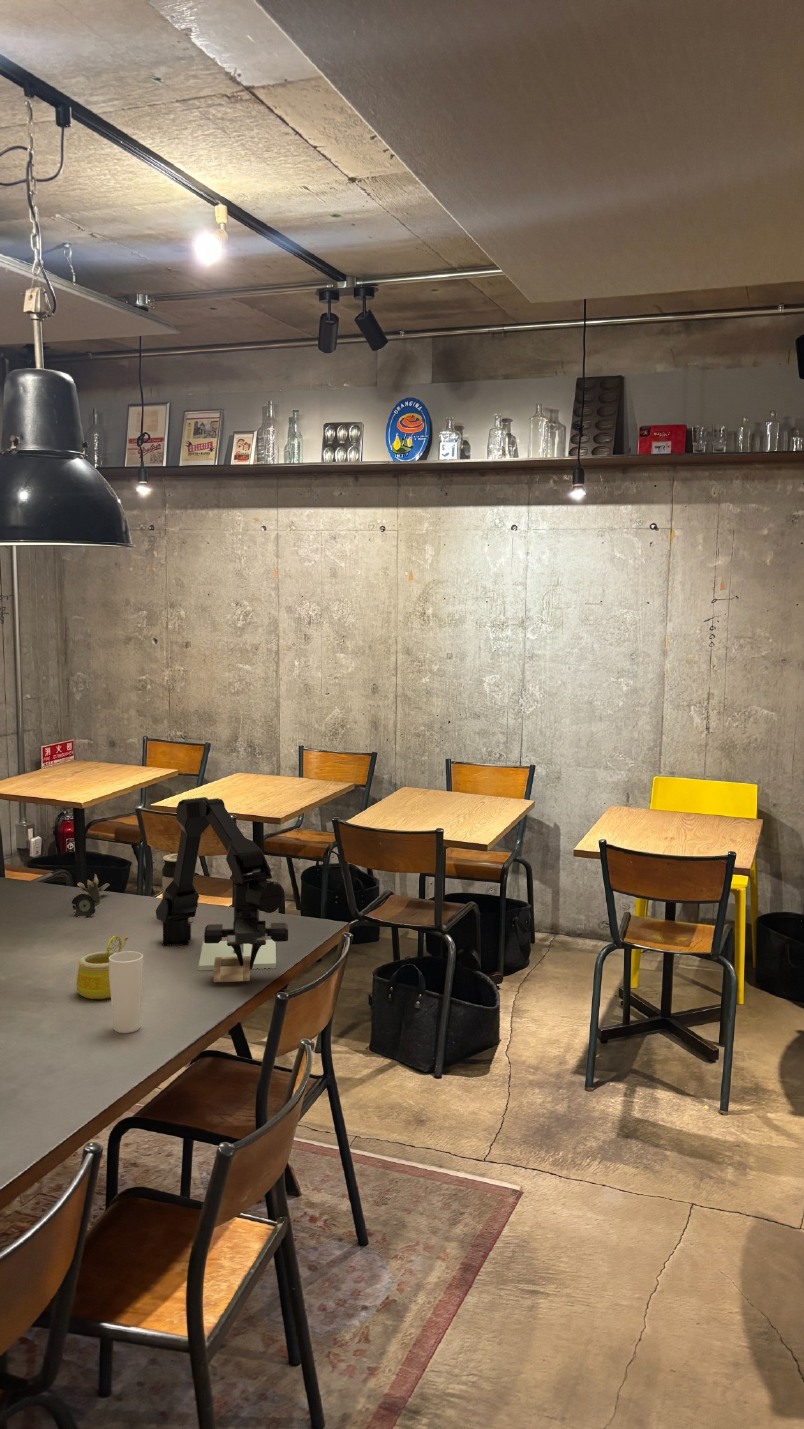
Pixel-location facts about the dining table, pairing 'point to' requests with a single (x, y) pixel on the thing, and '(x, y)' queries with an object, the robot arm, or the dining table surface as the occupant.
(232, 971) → the square wooden frame
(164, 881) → the travel mug
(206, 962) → the pale green base plate
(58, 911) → the dining table surface
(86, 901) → the artificial flower
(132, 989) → the drinking glass
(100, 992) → the mug
